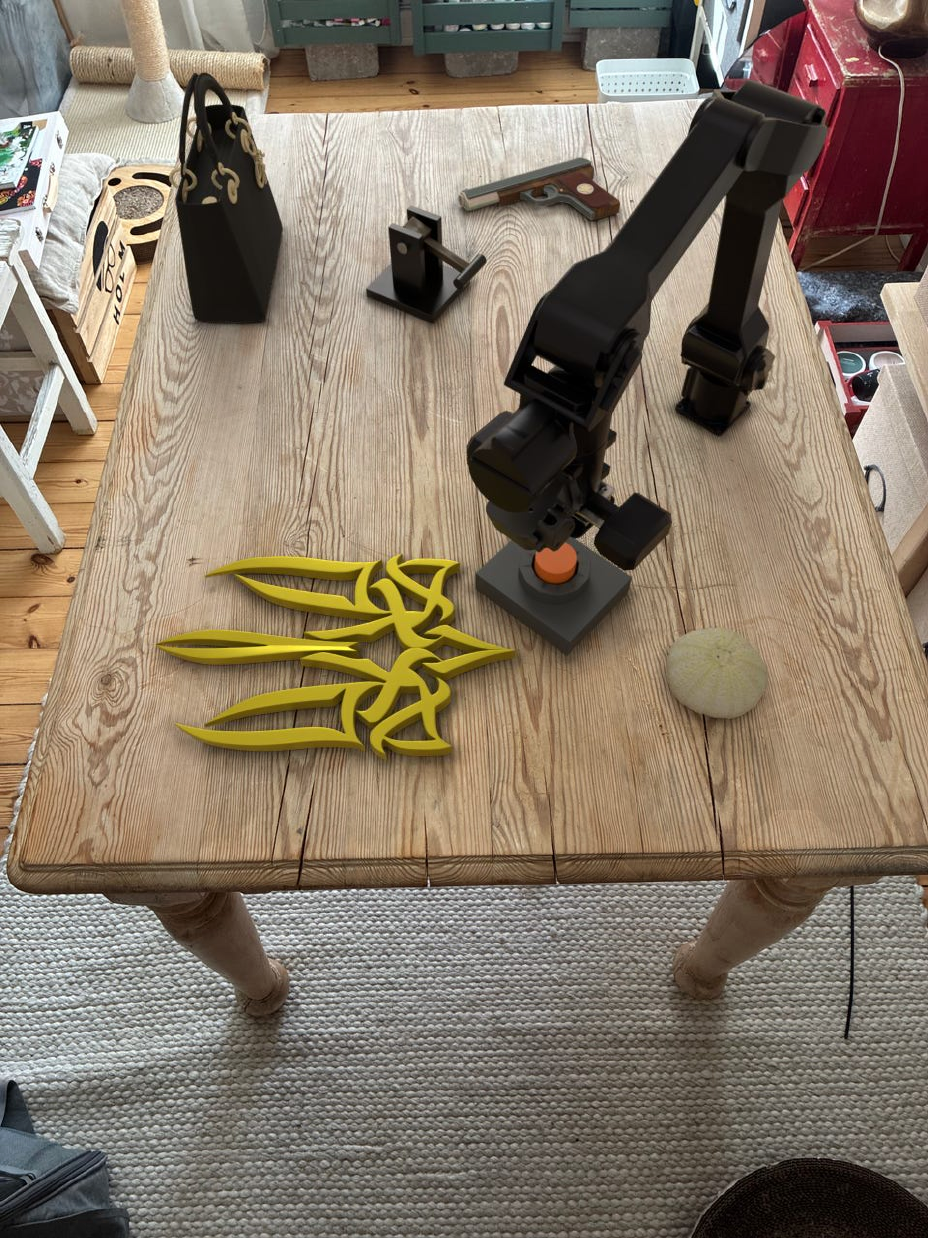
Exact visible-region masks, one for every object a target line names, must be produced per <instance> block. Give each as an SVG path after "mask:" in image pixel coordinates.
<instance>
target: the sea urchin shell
mask: <svg viewBox="0 0 928 1238" xmlns="http://www.w3.org/2000/svg"><path fill="white" fill-rule="evenodd" d="M665 665H666V672H667V676H666V678H667V683H668V684H669V687H670V690H671V691H672V694H673V697H674V698H675V699H676V700H677V701H678V702H679V703H680V704H681V705H683V706H685V707H686V708H688V709H690V710H691V711H694V712H695V713H697V714H699V715H705V716H708V717H710V718H711V717H712V718H713V719H715V718H717V719H729V720H731V719H735V718H740V717H742V716H743V715H745V714H746V713H748V712H750V711H751V710H752V709H754V708H755V707H756V705H757V704H758V703H759V701H760V699H761V698H762V696H764V693H765V691H766V686H767V683H768V679H769V673H768V667H767V664H766V662H765V661H764V660H763V658H762V656H761V654H760V652H759V651H758V650H757V649H756V648H755V647H754V646H753V644H752V643H751V642H750V641H748V639H747V638H745V637H743V636H742V635H740V634H739V633H737V632H736V631H735V630H733V629H729V628H727V627H712V626H711V627H710V626H709V627H707V628H702V629H696V630H691V631H689V632H686V633H685V634H683V635H681V636H679V637H677V638H676V640H675V641H674V642H673V643H672V644H671V646H670V649H669V651H668V656H667V659H666V663H665Z"/></svg>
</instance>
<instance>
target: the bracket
mask: <svg viewBox="0 0 928 1238" xmlns="http://www.w3.org/2000/svg"><path fill="white" fill-rule="evenodd" d="M412 217H415V218H416V219H418V220H419V221H421V222H422V223H424V224H425V225H427V226H428V227H429V228H431V229H432V230H431V234H430V237H431V238H432V239H434V240H435V241H437V242H438V243H439V244H441V245H442V246H443V221H442V216H441V215H439V214H436V213H433V212H430V211H428V210H425V209H422V208H420V207H417V206H414V205H409V206H408V207H407V208H406V223H407V222H408V221H409V220H410V219H411V218H412ZM387 228H388V229H387V231H388V241H389V252H390V253H389V254H390V264H389V265H388V266H387V267H386V268H385V269H384V270H383V271H382V272H381V273H380V274H379V275H378V276H377V277H376V278H375V279H374V280H373V281H372V282H371V283H370V284H369V285H368V286H367V287H366V288H365V292H366V297H367V298H370V299H373V300H374V301H377V302H379V303H382V304H384V305H387V306H389V307H392V308H394V309H397V310H399V311H401V312H403V313H406V314H409V315H410V316H413V317H415V318H418V319H420V320H423V321H425V322H427V323H430V324H434V323H435V322H436V321H437V320H438V319H439V318H440V317H441V316H442V315H443V314H444V312H445V311H447V309H448V308H449V307H450V306H451V305H452V304H453V302H454V301H455V300H457V298H458V297H459V296H460V295H461V294H462V293H463V291H464V290H466V288H467V287H468V286H469V285H470V284H471V280H470V281H469V283H468V284H467V285H466V286H465V287H464V288H463V289H462V290H459V289H457V288H456V287H455V286H454V284H453V281H454V279H455V278H456V277H457V276H458V275H459V274H460V272H459V271H457V270H456V269H454V268H453V267H451V266H446V265H444V261H442V260H441V259H439V258H438V257H436V256H435V255H433V254H432V253H430V252H429V251H427V250H426V249H424V238H423V235H422V234H420V233H417V232H415V231H412V230H409V229H407V228H404V227H403V226H402V225H399V224H396V223H394V222H392V223H391V224H390V225H389V226H388V227H387Z"/></svg>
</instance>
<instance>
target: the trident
mask: <svg viewBox="0 0 928 1238" xmlns="http://www.w3.org/2000/svg"><path fill="white" fill-rule="evenodd" d="M383 563H384V562H383V559H378V560H376V561H368V562H367V561H365V562H361V561H360V562H358V561H357V562H356V561H355V562H354V561H337V560H329V559H322V558H313V557H306V556H293V555H291V556H290V555H289V556H287V555H276V556H274V555H273V556H258V557H250V558H249V557H248V558H244V559H240V560H237V561H233V562H229V563H228V564H225V565H223V566H221V567H218V568H216V569H214V570H212V571H210V572H208V573H206V574H205V575H204V578H205V579H207V578H211V577H219V576H227V575H233V576H234V578H235V579H236V580H237V581H238V582H240V583H241V584H243V585H244V586H245V587H246V588H248V589H249V590H250V591H252V592H253V593H254V594H256V595H257V596H259V597H261V598H262V599H264V600H265V601H267V602H269V603H272V604H274V605H277V606H280V607H284V608H286V609H292V610H296V611H300V612H305V613H311V614H317V615H324V616H330V617H336V618H337V617H338V618H345V619H353V620H360V621H367V622H366V623H362V624H358V625H352V626H348V627H341V628H335V629H329V630H316V631H315V630H314V631H313V630H312V631H303V636H304V638H299V637H288V636H280V635H273V634H267V633H259V632H251V631H243V630H232V629H202V630H201V629H200V630H195V631H189V632H185V633H181V634H178V635H174V636H170V637H167V638H166V639H163V640H161V641H159V642H157V643H155V646H156V647H157V648H158V649H159V650H161V651H162V652H164V653H165V654H168V655H171V656H172V657H173V656H174V657H176V658H178V659H182V660H185V661H189V662H192V663H196V664H203V665H215V666H216V665H218V666H219V665H221V666H222V665H224V666H225V665H227V666H229V665H243V664H245V665H246V664H259V663H270V662H282V661H294V660H299V662H300V665H301V667H305V668H315V669H321V670H330V671H334V672H339V673H343V674H347V675H351V676H354V677H358V678H360V679H364V680H366V681H357V682H348V683H346V682H345V683H336V684H323V685H322V684H321V685H313V686H304V687H303V686H302V687H296V688H288V689H282V690H275V691H270V692H266V693H262V694H258V695H257V694H256V695H255V696H251V697H248V698H246V699H244V700H242V701H240V702H238V703H235V705H232V706H231V707H229V708H227V709H225V710H224V711H222V712H221V713H219V714H218V715H216V716H215V717H213V718H211V719H210V720H208V721H207V722H205V723H204V724H203V726H204V727H205V728H206V729H204V728H198V727H193V726H188V725H185V724H180V723H177V722H174V721H173V722H172V723H173V724H174V726H176V727H177V728H178V729H179V730H180V731H182V732H183V733H185V734H186V735H188V736H189V737H192V738H194V739H195V740H197V741H199V742H202V743H203V744H206V745H210V746H213V747H216V748H222V749H227V750H228V749H229V750H236V751H237V750H238V751H245V752H279V751H280V752H281V751H293V750H303V749H304V750H305V749H318V748H342V749H343V748H344V749H355V750H359V751H362V752H364V753H366V747H365V745H364V744H363V743H362V742H361V741H360V740H359V738H358V735H357V732H356V718H357V719H358V720H359V721H360V722H361V723H362V724H364V725H365V726H366V727H367V728H368V729H369V730H371V731H370V734H369V743H370V748H371V750H372V752H373V753H374V754H375V755H376V756H377V757H378V758H380V759H381V760H383V761H385V762H387V761H388V757H387V753H386V752H385V751H384V748H385V747H386V748H387V749H388V750H390V751H392V752H394V753H396V754H399V755H401V756H402V755H403V756H408V757H441V756H446V755H449V754H453V746H452V745H451V744H449V743H448V742H446V741H445V740H443V739H442V738H441V737H440V736H439V733H438V730H437V714H438V713H440V712H441V711H443V710H444V709H445V708H446V707H447V706H449V705H450V703H451V701H452V690H451V687H450V686H449V685H448V683H447V682H446V681H448V680H450V679H451V678H454V677H457V676H459V675H462V674H464V673H466V672H469V671H472V670H474V669H478V668H479V667H483V666H485V665H488V664H492V663H497V662H500V661H506V660H512V659H515V658H516V655H517V650H515V649H512V648H506V647H503V646H499V645H495V644H492V643H489V642H486V641H484V640H480V639H479V638H476V637H474V636H471V635H469V634H467V633H464V632H462V631H461V630H458V629H455V628H453V627H452V626H450V624H451V623H452V622H453V621H454V620H455V617H456V607H455V604H454V603H453V602H452V600H451V601H450V599H449V598H447V597H445V596H444V595H443V594H444V590H445V589H444V587H445V585H446V582H447V580H448V579H449V578H450V577H451V576H453V575H456V574H457V573H460V572H461V562H459V561H455V560H451V559H444V558H443V559H442V558H415V559H410V560H407V561H405V562H404V556H403V553H400V554H397V555H395V556H392V557H391V558H390V559H388V561H387V562H386V564H385V575H386V578H381V579H379V580H377V582H375V583H373V584H372V582H373V579H374V578H375V576H376V574H377V573H379V572H380V571H381V570H383V569H384V564H383ZM239 574H270V575H285V576H295V577H303V578H309V579H310V578H311V579H319V580H324V581H325V580H326V581H337V582H341V581H342V582H344V581H345V582H346V581H353V580H356V582H355V584H354V585H355V586H354V604H353V603H352V602H351V601H350V600H349V599H348V598H347V597H346V596H344V595H337V594H328V593H327V594H326V593H319V592H314V591H313V592H312V591H306V590H300V589H295V588H288V587H283V586H278V585H272V584H268V583H265V582H260V581H257V580H254V579H251V578H248V577H245V576H242V575H239ZM411 574H430V575H434V576H433V578H432V580H431V583H430V586H429V588H426V586H425V587H424V586H423V585H421V584H419V583H418V582H416V581H414V580H413V579H411V578H410V577H408V576H407V575H411ZM371 584H372V585H371ZM401 593H402V594H403V595H405V596H407V597H408V598H410V599H412V600H413V601H415V602H417V603H418V604H421V605H423V606H425V607H424V610H423V611H418V610H417V611H415V610H407V608H406V607H405V604H404V601H403V598H402V595H401ZM369 596H370V597H379V598H381V600H382V601H383V603H384V604H385V606H386V608H387V610H383V609H380V608H379V607H377V606H376V605H375V604H374V603H373V602H372V601H371V600H370V598H369ZM437 614H439V615H440V616H441V618H440V619H439V620H438V626H436V627H434V628H432V629H430V630H428V631H425V632H424V633H423V637H422V636H420V635H418V634H419V633H421V632H422V631H423V630H424V629H426V628H427V627H428V626H429V625H430V624H431V623H432V621H433V619H435V616H437ZM392 632H395V635H396V639H397V641H398V644H399V645H400V648H401V649H402V650H403V652H401V653H400V654H399V656H398V657H397V658H396V659H395V662H394V663H393V665H392V667H391V669H390V671H389V672H388V671H387V670H384V669H383V668H382V667H380V666H379V665H377V664H376V663H375V662H374V661H372V660H371V659H369V658H360V655H359V651H360V650H361V647H360V646H361V645H360V643H369V644H372V643H375V642H376V641H378V640H379V639H381V638H383V637H384V636H386V635H388V634H391V633H392ZM175 645H176V646H177V645H197V646H198V645H199V646H200V645H202V646H214V647H213V648H208V647H207V648H197V647H196V648H195V647H194V648H193V647H192V648H191V647H189V648H188V647H172V646H175ZM444 645H445V646H449V647H451V648H454V649H457V650H459V651H462V652H465V653H466V654H461V655H458V656H455V657H452V658H448V659H445V660H442V659H441V658H439V657H438V656H437V655H435V654H434V653H433V652H435V651H437V650H438V649H439V648H441V647H443V646H444ZM215 646H216V648H215ZM217 646H218V647H217ZM420 667H421V670H422V672H424V673H426V674H427V675H429V676H431V677H432V678H435V685H436V686H437V691H436V692H435V693H433V694H432V693H431V691H430V689H429V687H428V685H427V683H426V681H425V680H424V679H423V678H422V677H421V676H420V675H419V674H418V673H417V672H415V671H416V670H418V669H419V668H420ZM375 694H378V695H377V697H376V699H375V700H374V702H373V703H372V704H371V706H369V708H368V709H365V710H361V711H360V710H359V708H360V706H361V705H362V704H363V703H364V702H365V701H366V700H367V699H369V698H370V697H372V696H374V695H375ZM402 694H407V695H408V694H409V695H411V694H413V695H414V694H419V698H420V700H419V701H416V702H415V703H413V704H411V705H408V706H407V707H404V708H402V709H400V710H399V711H396V712H395V713H393V711H394V710H395V708H396V705H397V703H398V701H399V699H400V697H401V695H402ZM340 702H341V707H340V708H341V709H340V720H341V725H342V728H343V732H342V731H339V730H336V729H334V728H329V727H322V726H307V727H306V726H305V727H293V728H281V729H271V730H270V729H269V730H255V731H254V730H253V731H252V730H251V731H249V730H248V731H237V730H236V731H235V730H233V731H230V730H228V731H227V730H214V729H207V728H210V727H213V726H217V725H220V724H224V723H227V722H231V721H234V720H238V719H243V718H247V717H253V716H259V715H267V714H272V713H281V712H288V711H296V710H304V709H305V710H307V709H317V708H318V709H319V708H332V707H335V706H336V705H338V704H339V703H340ZM392 713H393V714H392ZM420 720H421V721H422V725H423V730H424V733H425V736H426V738H427V740H398V739H392V737H394V735H396V734H397V733H399V732H401V731H402V730H403V729H405V728H407V727H409V726H410V725H413V724H415V723H416V722H418V721H420Z"/></svg>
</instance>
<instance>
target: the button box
mask: <svg viewBox="0 0 928 1238" xmlns="http://www.w3.org/2000/svg"><path fill="white" fill-rule="evenodd" d="M565 543H567V544H569V545H570V546H571V547H572V548H573V549H574V550H575V552H576V555H577V562H576V568H575V572H574V575H573V576H572V577H571V578H570V579H569V580H568V581H566V582H563V583H560V584H552V583H548V582H546V581H544V580H542V579H541V578H540V577H539V576H538V575H537V573H536V571H535V556H536V550H525V549H523V548H522V547H520V546H519V545H518V544H517V543H515V542H514V541H512V540H511V539H510V540H509V541H508V542H507V543H506V544H505V545H504V546H503V547H502V548H500V550H498V552H497V553H495V554H494V555H493V557H491V558H490V559H489V560H488V561H487V562H486V563H485V564H484V565H482V567H481V568H479V569H478V570H477V571H476V572H475V575H474V577H475V579H474V580H475V581H474V583H475V585H474V586H475V588H474V589H476V590H477V591H478V592H480V593H481V594H482V595H484V596H485V597H487V598H488V599H489V600H491V601H492V602H493V603H495V604H496V605H497V606H498V607H500V608H501V609H503V610H504V611H505V612H507V613H508V614H510V615H511V616H512V617H514V618H515V619H516V620H518V621H519V622H520V623H522V624H523V625H524V626H526V627H527V628H528V629H530V630H531V631H532V632H534V633H535V634H536V635H538V636H539V637H541V638H542V639H543V640H545V641H546V642H547V643H549V644H550V645H552V646H553V647H554V648H555V649H557V650H558V651H559V652H561V653H562V654H564V655H565V656H567V657H568V656H569V655H570V654H571V653H572V652H573V651H574V650H575V649H576V648H577V647H578V645H580V644H581V643H582V642H583V640H584V639H585V638H586V637H588V635H589V634H590V633H591V632H592V631H593V630H594V629H595V627H597V626H598V625H599V624H600V623H601V622H602V621H603V620H604V619H605V618H606V617H607V616H608V614H609V613H611V611H612V610H614V608H615V607H616V606H617V605H618V604H619V603H620V602H621V601H622V600H623V599H624V597H626V596H627V595H628V593H629V592H630V588H631V584H632V580H633V577H632V576H631V575H629V574H628V573H627V572H625V571H624V570H622V569H621V568H619V567H618V566H616V565H615V564H613V563H612V562H611V561H609V560H608V559H606V558H605V557H603V556H602V555H600V554H599V553H597V552H596V551H594V550H593V549H592V548H590V547H588V546H587V545H585V544H583V543H582V542H581V541H579V540H578V539H577V538H576V539H575V538H571V537H569V538H568V540H567V541H566V542H565Z"/></svg>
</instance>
